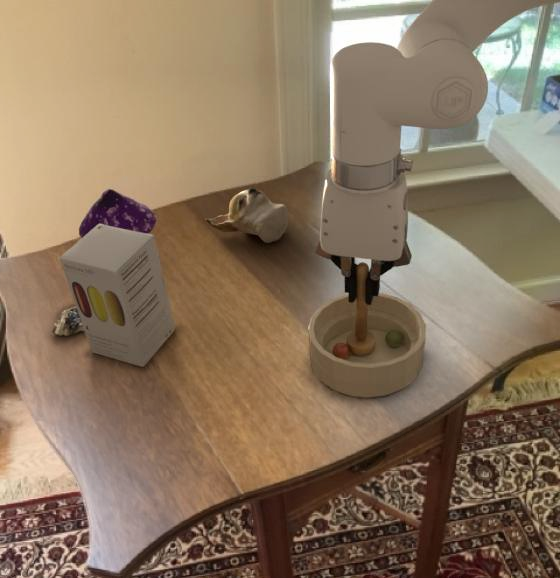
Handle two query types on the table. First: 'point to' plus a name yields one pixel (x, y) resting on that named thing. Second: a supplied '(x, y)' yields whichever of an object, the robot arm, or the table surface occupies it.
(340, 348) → the bead
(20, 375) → the table surface
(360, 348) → the wooden peg stand
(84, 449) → the table surface
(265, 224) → the ceramic sculpture
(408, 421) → the table surface
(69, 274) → the supplement box
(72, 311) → the white grey lumpy piece
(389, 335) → the bead
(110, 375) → the table surface
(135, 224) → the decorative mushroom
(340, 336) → the bowl
